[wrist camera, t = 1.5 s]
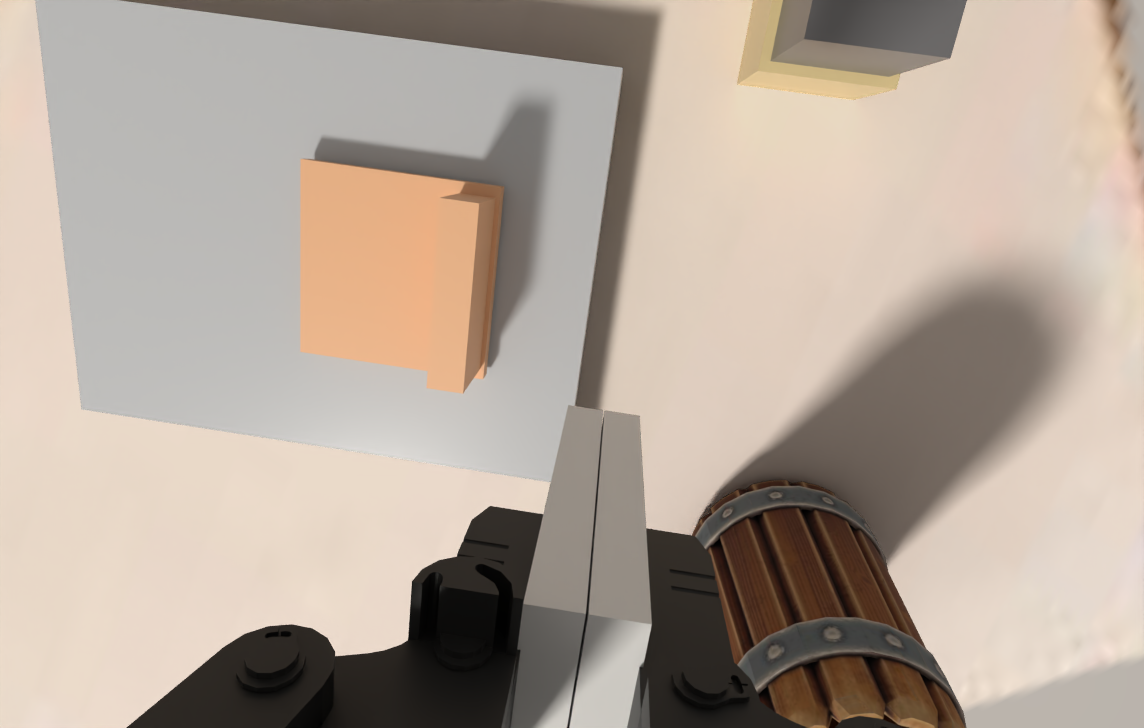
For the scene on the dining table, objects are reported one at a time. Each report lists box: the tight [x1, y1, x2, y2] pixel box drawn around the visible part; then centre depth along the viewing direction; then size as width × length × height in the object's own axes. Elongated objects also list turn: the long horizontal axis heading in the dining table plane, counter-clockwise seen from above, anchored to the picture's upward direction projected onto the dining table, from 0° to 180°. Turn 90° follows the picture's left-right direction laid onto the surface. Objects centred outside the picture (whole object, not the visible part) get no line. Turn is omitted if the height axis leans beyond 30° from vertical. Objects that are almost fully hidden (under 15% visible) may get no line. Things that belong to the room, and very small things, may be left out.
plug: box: [737, 0, 967, 100], centre depth 25 cm, size 5×5×10 cm
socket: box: [35, 0, 623, 482], centre depth 33 cm, size 20×26×3 cm
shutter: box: [300, 159, 504, 394], centre depth 29 cm, size 9×9×4 cm
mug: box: [692, 480, 966, 728], centre depth 31 cm, size 16×11×15 cm
